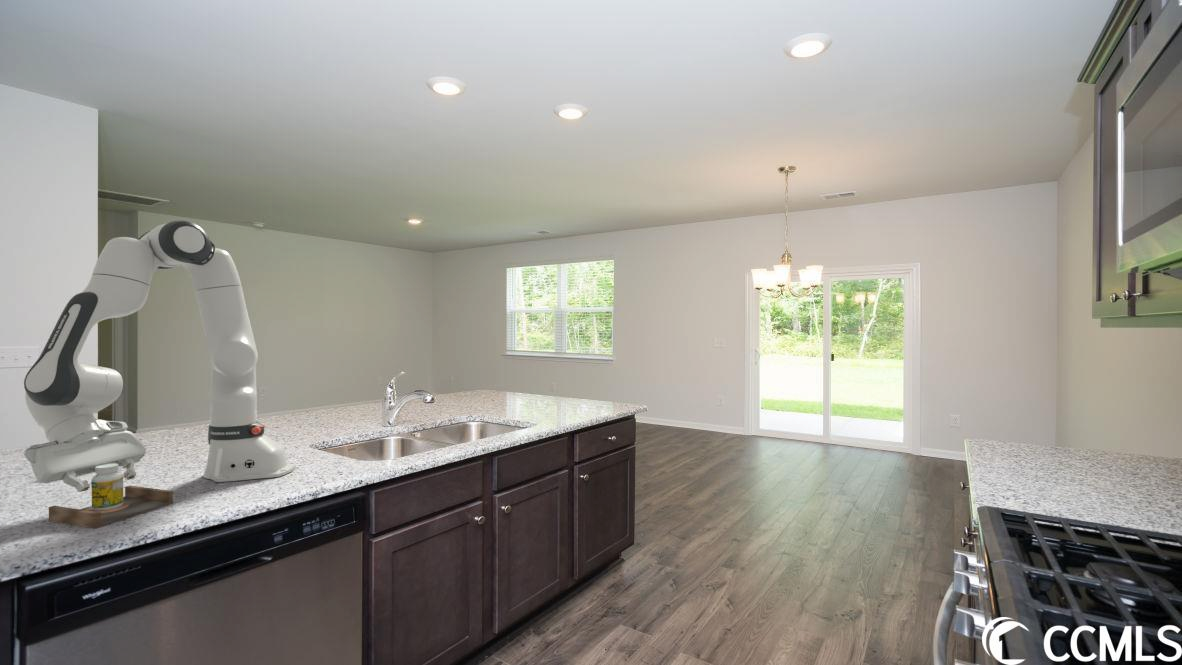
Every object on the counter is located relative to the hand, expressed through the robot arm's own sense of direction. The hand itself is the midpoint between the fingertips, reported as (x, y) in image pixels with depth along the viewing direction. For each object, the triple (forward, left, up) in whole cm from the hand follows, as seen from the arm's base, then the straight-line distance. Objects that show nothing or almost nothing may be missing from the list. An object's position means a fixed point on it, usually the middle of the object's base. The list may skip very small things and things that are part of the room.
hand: (109, 483), depth 122 cm
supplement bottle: (0, 0, -6) cm, 6 cm away
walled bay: (-1, +1, -6) cm, 7 cm away
